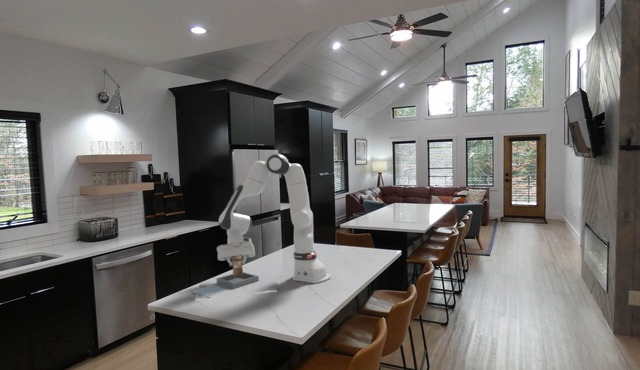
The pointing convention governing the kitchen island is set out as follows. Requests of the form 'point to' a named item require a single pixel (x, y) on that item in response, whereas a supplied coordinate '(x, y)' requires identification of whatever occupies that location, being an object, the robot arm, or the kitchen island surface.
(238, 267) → the walnut block
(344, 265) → the kitchen island surface
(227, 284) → the parts bin
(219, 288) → the light blue flat slab
